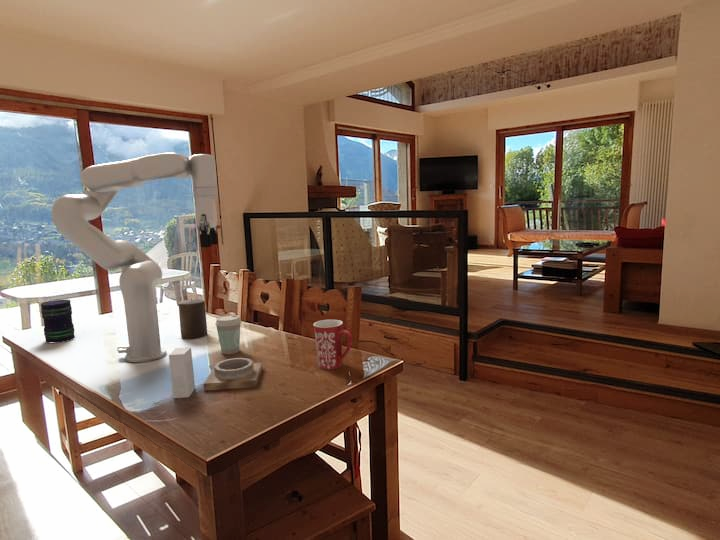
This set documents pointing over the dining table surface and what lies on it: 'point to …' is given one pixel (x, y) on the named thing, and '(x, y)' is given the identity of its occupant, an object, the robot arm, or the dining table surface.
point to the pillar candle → (192, 318)
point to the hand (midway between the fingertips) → (209, 245)
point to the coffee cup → (229, 333)
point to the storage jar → (57, 320)
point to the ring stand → (233, 374)
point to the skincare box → (182, 372)
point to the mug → (330, 343)
